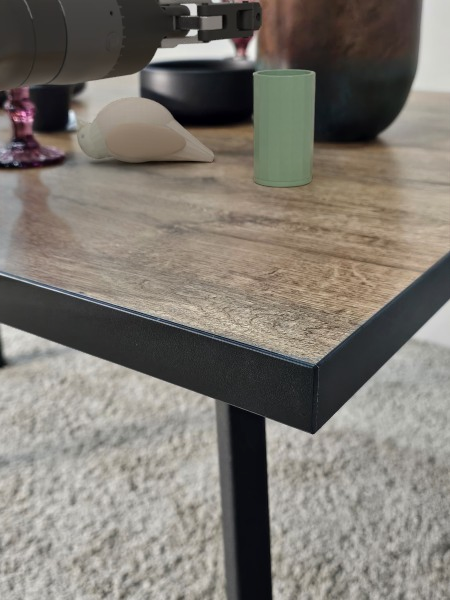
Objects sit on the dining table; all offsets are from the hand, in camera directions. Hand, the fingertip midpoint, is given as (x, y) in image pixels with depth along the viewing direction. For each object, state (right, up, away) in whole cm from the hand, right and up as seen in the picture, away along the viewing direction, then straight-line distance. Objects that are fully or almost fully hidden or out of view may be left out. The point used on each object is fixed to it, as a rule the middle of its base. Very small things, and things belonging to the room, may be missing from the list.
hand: (216, 15), depth 64 cm
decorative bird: (-9, -8, +24) cm, 27 cm away
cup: (+7, -12, +15) cm, 20 cm away
